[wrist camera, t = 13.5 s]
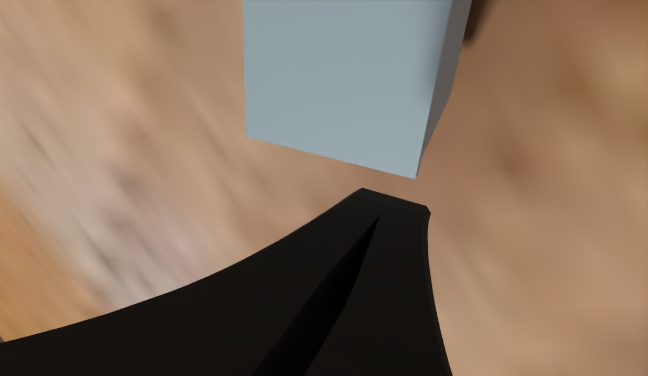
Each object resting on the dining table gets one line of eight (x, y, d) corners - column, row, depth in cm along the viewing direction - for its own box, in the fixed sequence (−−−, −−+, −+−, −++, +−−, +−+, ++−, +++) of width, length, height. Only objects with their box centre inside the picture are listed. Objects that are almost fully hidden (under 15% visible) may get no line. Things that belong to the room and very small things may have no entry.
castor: (492, -76, 14) (465, -65, 9) (448, 116, 18) (408, 211, 12) (346, -90, 16) (241, -88, 10) (330, 91, 19) (246, 167, 14)
